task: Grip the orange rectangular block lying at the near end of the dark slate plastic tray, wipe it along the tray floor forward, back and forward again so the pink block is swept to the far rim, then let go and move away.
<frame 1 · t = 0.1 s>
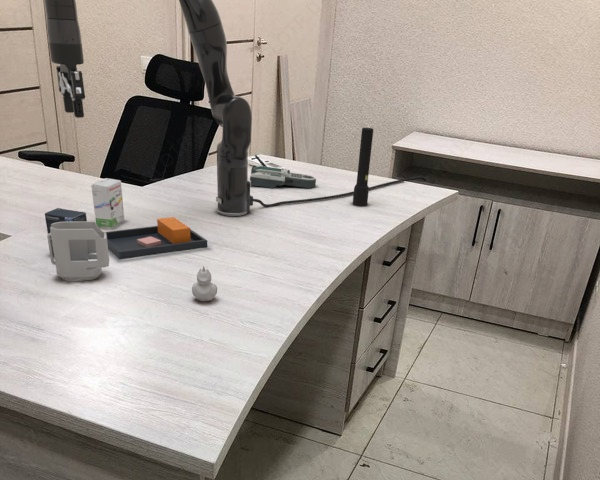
hand: (74, 114, 158), 29 cm above the table, tool pointing down, fingers open, 8 cm apart
communication device: (283, 185, 229), on the table
flashlight: (359, 205, 212), on the table
orange rectangular block: (174, 240, 167), point 1 cm above the table, touching tray
rubber duck: (205, 299, 137), on the table
ink box: (110, 224, 178), on the table
pink block: (149, 243, 164), point 1 cm above the table, touching tray
box: (71, 255, 155), on the table
tray: (153, 245, 165), on the table
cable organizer: (86, 277, 144), on the table
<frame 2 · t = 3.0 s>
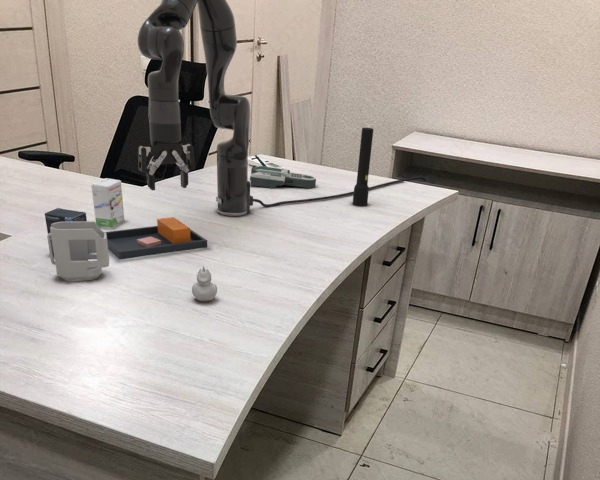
hand: (168, 188, 160), 14 cm above the table, tool pointing down, fingers open, 8 cm apart
nothing on the table moved.
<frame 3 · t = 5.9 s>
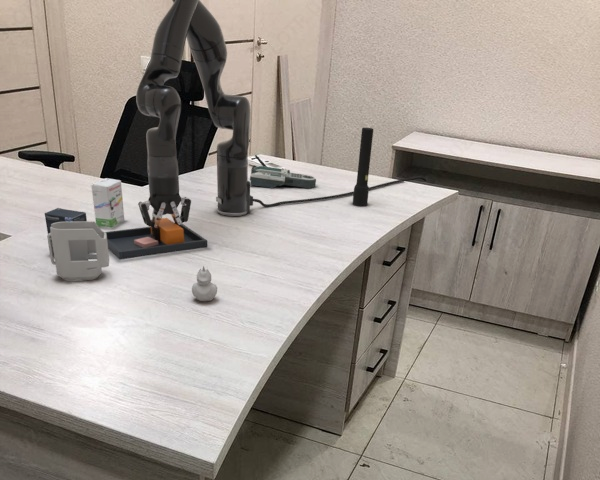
hand: (167, 239, 166), 1 cm above the table, tool pointing down, fingers closed on orange rectangular block, 5 cm apart
orange rectangular block: (167, 241, 166), point 1 cm above the table, touching gripper
pink block: (146, 244, 163), point 1 cm above the table, touching gripper, tray
everything else where it was.
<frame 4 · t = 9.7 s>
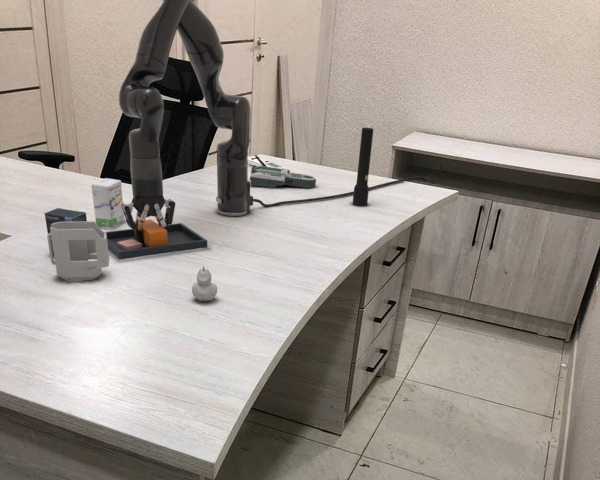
hand: (151, 241, 164), 1 cm above the table, tool pointing down, fingers closed on orange rectangular block, 5 cm apart
orange rectangular block: (151, 243, 164), point 1 cm above the table, touching gripper
pink block: (129, 246, 161), point 1 cm above the table, touching gripper, tray
everything else where it was.
when the fingers open (1 cm above the table, at t = 10.6 s): orange rectangular block stays where it is, resting on tray.
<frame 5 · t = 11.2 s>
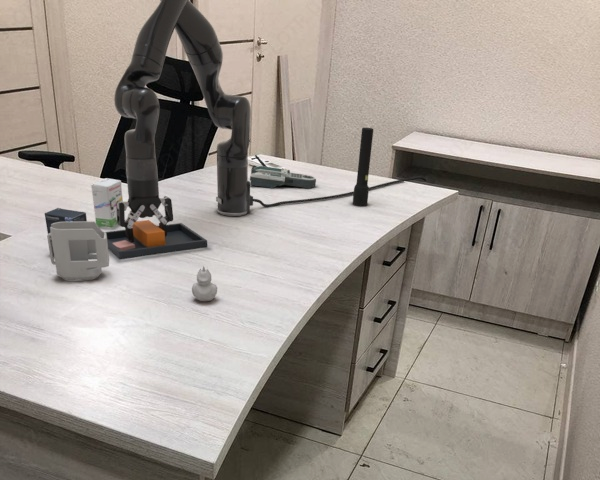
hand: (147, 239, 163), 2 cm above the table, tool pointing down, fingers open, 8 cm apart
orange rectangular block: (149, 243, 164), point 1 cm above the table, touching tray
pink block: (122, 247, 160), point 1 cm above the table, touching tray
everything else where it was.
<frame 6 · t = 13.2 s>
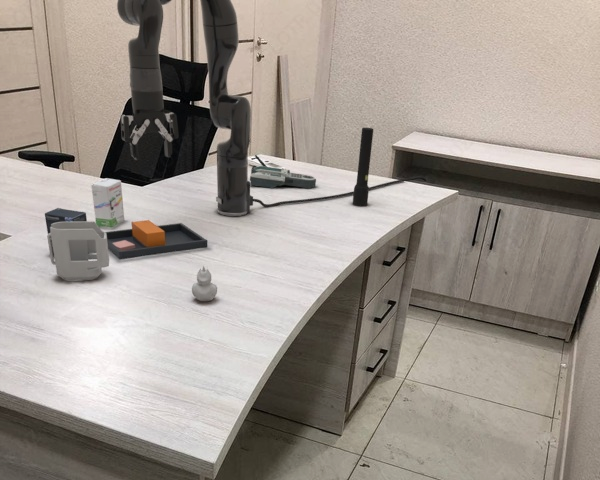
hand: (152, 158, 160), 21 cm above the table, tool pointing down, fingers open, 8 cm apart
nothing on the table moved.
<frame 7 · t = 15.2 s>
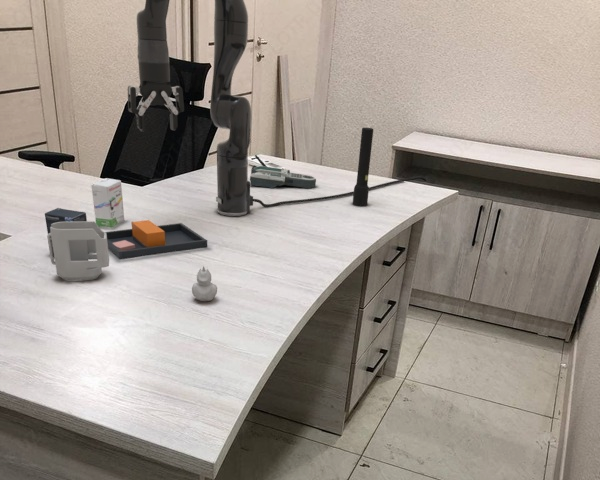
hand: (158, 130, 163), 26 cm above the table, tool pointing down, fingers open, 8 cm apart
nothing on the table moved.
at the end: pink block inside the target area in the tray (0.5 cm from its centre), point 0.6 cm above the tray's base; orange rectangular block inside the target area in the tray (0.4 cm from its centre), point 0.6 cm above the tray's base; orange rectangular block tilted 0° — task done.
